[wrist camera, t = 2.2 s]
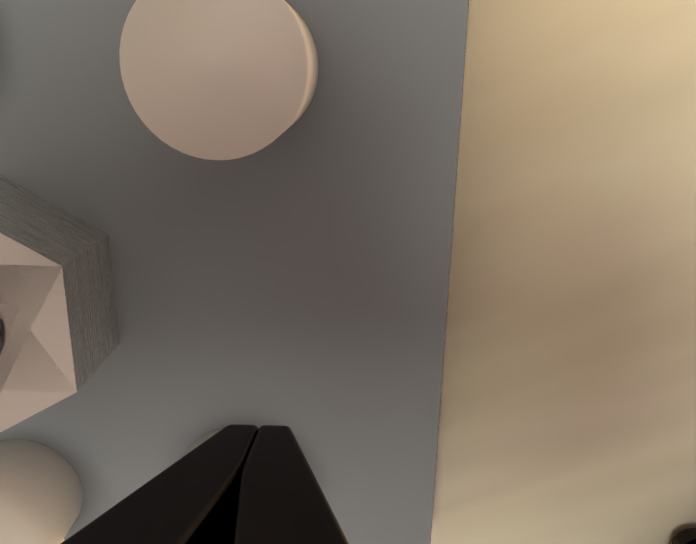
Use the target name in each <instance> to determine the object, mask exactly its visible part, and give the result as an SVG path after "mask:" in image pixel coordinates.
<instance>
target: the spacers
mask: <svg viewBox="0 0 696 544" xmlns="http://www.w3.org/2000/svg"><path fill="white" fill-rule="evenodd" d="M119 56H120V70H121V77H122V80H123V84H124V88H125V91H126V93H127V96H128V98H129V101H130V103H131V104H132V106H133V108H134V110H135V112H136V113H137V115H138V116H139V117H140V119H141V120H142V122H143V123H144V124H145V125H146V126H147V127H148V129H149V130H150V131H151V132H152V133H153V134H155V135H156V136H157V137H158V138H159V139H160V140H162V141H163V142H165V143H166V144H167V145H169V146H170V147H172V148H174V149H176V150H178V151H180V152H182V153H185V154H187V155H190V156H193V157H197V158H202V159H207V160H231V159H236V158H241V157H244V156H247V155H251V154H253V153H255V152H257V151H259V150H261V149H263V148H264V147H266V146H267V145H269V144H270V143H272V142H273V141H274V140H275V139H276V138H278V137H279V136H280V135H281V134H282V133H283V132H285V131H286V130H287V129H288V128H289V127H290V126H292V125H293V124H294V123H295V122H296V121H297V120H298V119H299V118H300V117H301V116H302V115H303V113H304V112H305V111H306V109H307V108H308V106H309V104H310V102H311V100H312V98H313V96H314V93H315V90H316V86H317V81H318V72H319V63H318V54H317V48H316V45H315V42H314V39H313V36H312V34H311V32H310V30H309V28H308V26H307V25H306V23H305V22H304V20H303V19H302V18H301V16H300V15H299V14H298V13H297V12H296V11H295V10H294V9H293V8H292V7H291V6H290V5H289V4H288V3H287V2H286V1H285V0H136V1H135V3H134V4H133V6H132V8H131V10H130V12H129V13H128V16H127V19H126V21H125V24H124V27H123V31H122V35H121V41H120V50H119ZM222 429H223V428H221V429H217V430H213V431H211V432H208V433H206V434H204V435H202V436H201V437H199V438H198V439H197V440H195V441H194V442H193V443H192V444H191V445H190V446H189V447H188V449H187V450H186V451H185V453H184V455H183V456H185V455H186V454H188V453H189V452H190V451H192V450H193V449H195V448H196V447H198V446H199V445H200V444H202V443H203V442H205V441H206V440H207V439H209V438H210V437H212V436H213V435H214V434H216V433H217V432H219V431H220V430H222ZM82 503H83V490H82V485H81V483H80V480H79V477H78V475H77V474H76V472H75V470H74V469H73V467H72V466H71V465H70V464H69V463H68V462H67V460H65V459H64V458H63V457H62V456H61V455H60V454H58V453H57V452H55V451H54V450H52V449H50V448H49V447H47V446H44V445H42V444H39V443H36V442H33V441H28V440H21V439H8V440H2V441H0V544H61V543H62V541H63V539H64V538H65V536H66V535H67V533H68V531H69V530H70V528H71V527H72V525H73V523H74V522H75V520H76V519H77V517H78V515H79V513H80V511H81V508H82Z"/></svg>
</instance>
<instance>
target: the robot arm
mask: <svg viewBox="0 0 696 544" xmlns="http://www.w3.org/2000/svg"><path fill="white" fill-rule="evenodd" d="M61 544H349V542H348V540H347V538H346V536H345V534H344V532H343V530H342V528H341V527H340V525H339V523H338V521H337V519H336V517H335V515H334V513H333V511H332V509H331V507H330V505H329V503H328V501H327V499H326V497H325V495H324V493H323V491H322V489H321V487H320V485H319V483H318V481H317V479H316V477H315V475H314V473H313V471H312V469H311V467H310V465H309V463H308V461H307V460H306V458H305V456H304V454H303V452H302V450H301V448H300V446H299V444H298V442H297V440H296V438H295V436H294V434H293V432H292V430H291V428H290V427H288V426H283V425H262V426H261V427H260V428H259V429H258V427H257V426H256V425H246V424H230V425H228V426H226V427H224V428H223V429H222V430H220V431H219V432H217V433H216V434H214V435H213V436H212V437H210V438H209V439H207V440H206V441H205V442H203V443H202V444H200V445H199V446H198V447H196V448H195V449H193V450H192V451H190V452H189V453H188V454H186V455H185V456H183V457H182V458H181V459H179V460H178V461H176V462H175V463H174V464H172V465H171V466H169V467H168V468H166V469H165V470H164V471H162V472H161V473H159V474H158V475H157V476H155V477H154V478H152V479H151V480H150V481H148V482H147V483H145V484H144V485H142V486H141V487H140V488H138V489H137V490H135V491H134V492H133V493H131V494H130V495H128V496H127V497H126V498H124V499H123V500H121V501H120V502H118V503H117V504H116V505H114V506H113V507H111V508H110V509H109V510H107V511H106V512H104V513H103V514H102V515H100V516H99V517H97V518H96V519H94V520H93V521H92V522H90V523H89V524H87V525H86V526H85V527H83V528H82V529H80V530H79V531H78V532H76V533H75V534H73V535H72V536H70V537H69V538H68V539H66V540H65V541H63V542H62V543H61ZM672 544H696V528H692V529H686V530H684V531H681V532H679V533H678V534H677V535H676V536H675V537H674V540H673V542H672Z"/></svg>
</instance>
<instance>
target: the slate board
mask: <svg viewBox="0 0 696 544" xmlns="http://www.w3.org/2000/svg"><path fill="white" fill-rule="evenodd" d="M135 1H136V0H0V175H2V176H4V177H5V178H7V179H9V180H11V181H13V182H14V183H16V184H18V185H20V186H22V187H23V188H25V189H27V190H29V191H31V192H32V193H34V194H36V195H38V196H40V197H41V198H43V199H45V200H47V201H49V202H50V203H52V204H54V205H56V206H58V207H59V208H61V209H63V210H65V211H66V212H68V213H70V214H72V215H74V216H75V217H77V218H79V219H81V220H83V221H84V222H86V223H88V224H90V225H92V226H93V227H95V228H97V229H99V230H101V231H102V232H104V233H106V234H108V235H109V243H110V254H111V264H112V275H113V285H114V296H115V306H116V317H117V327H118V338H119V344H118V346H117V347H116V348H115V349H114V350H113V351H112V352H111V354H110V355H109V356H108V357H107V358H106V359H105V361H104V362H103V363H102V364H101V365H100V366H99V367H98V369H97V370H96V371H95V372H94V373H93V374H92V375H91V377H90V378H89V379H88V380H87V381H86V382H85V384H84V385H83V386H82V387H81V388H80V389H79V390H78V392H76V393H74V394H72V395H71V396H69V397H67V398H65V399H63V400H61V401H59V402H57V403H55V404H54V405H52V406H50V407H48V408H46V409H44V410H42V411H40V412H38V413H36V414H35V415H33V416H31V417H29V418H27V419H25V420H23V421H21V422H19V423H17V424H16V425H14V426H12V427H10V428H8V429H6V430H4V431H2V432H0V441H2V440H8V439H21V440H28V441H33V442H36V443H39V444H42V445H44V446H47V447H49V448H50V449H52V450H54V451H55V452H57V453H58V454H60V455H61V456H62V457H63V458H64V459H65V460H67V462H68V463H69V464H70V465H71V466H72V467H73V469H74V470H75V472H76V474H77V475H78V477H79V480H80V483H81V485H82V490H83V503H82V508H81V511H80V513H79V515H78V517H77V519H76V520H75V522H74V523H73V525H72V527H71V528H70V530H69V531H68V533H67V535H66V536H65V538H64V539H68V538H69V537H70V536H72V535H73V534H75V533H76V532H78V531H79V530H80V529H82V528H83V527H85V526H86V525H87V524H89V523H90V522H92V521H93V520H94V519H96V518H97V517H99V516H100V515H102V514H103V513H104V512H106V511H107V510H109V509H110V508H111V507H113V506H114V505H116V504H117V503H118V502H120V501H121V500H123V499H124V498H126V497H127V496H128V495H130V494H131V493H133V492H134V491H135V490H137V489H138V488H140V487H141V486H142V485H144V484H145V483H147V482H148V481H150V480H151V479H152V478H154V477H155V476H157V475H158V474H159V473H161V472H162V471H164V470H165V469H166V468H168V467H169V466H171V465H172V464H174V463H175V462H176V461H178V460H179V459H181V458H182V457H183V455H184V453H185V451H186V450H187V449H188V447H189V446H190V445H191V444H192V443H193V442H194V441H195V440H197V439H198V438H199V437H201V436H202V435H204V434H206V433H208V432H211V431H213V430H217V429H221V428H224V427H226V426H228V425H230V424H246V425H256V426H257V427H258V429H259V428H260V427H261V426H262V425H283V426H288V427H290V428H291V430H292V432H293V434H294V436H295V438H296V440H297V442H298V444H299V446H300V448H301V450H302V452H303V454H304V456H305V458H306V460H307V461H308V463H309V465H310V467H311V469H312V471H313V473H314V475H315V477H316V479H317V481H318V483H319V485H320V487H321V489H322V491H323V493H324V495H325V497H326V499H327V501H328V503H329V505H330V507H331V509H332V511H333V513H334V515H335V517H336V519H337V521H338V523H339V525H340V527H341V528H342V530H343V532H344V534H345V536H346V538H347V540H348V542H349V544H430V542H431V527H432V513H433V499H434V485H435V471H436V457H437V443H438V429H439V415H440V401H441V387H442V373H443V359H444V345H445V331H446V317H447V303H448V288H449V274H450V260H451V246H452V232H453V218H454V204H455V190H456V176H457V162H458V148H459V134H460V120H461V106H462V92H463V78H464V64H465V50H466V35H467V21H468V7H469V0H285V1H286V2H287V3H288V4H289V5H290V6H291V7H292V8H293V9H294V10H295V11H296V12H297V13H298V14H299V15H300V16H301V18H302V19H303V20H304V22H305V23H306V25H307V26H308V28H309V30H310V32H311V34H312V36H313V39H314V42H315V45H316V48H317V54H318V63H319V72H318V81H317V86H316V90H315V93H314V96H313V98H312V100H311V102H310V104H309V106H308V108H307V109H306V111H305V112H304V113H303V115H302V116H301V117H300V118H299V119H298V120H297V121H296V122H295V123H294V124H293V125H292V126H290V127H289V128H288V129H287V130H286V131H285V132H283V133H282V134H281V135H280V136H279V137H278V138H276V139H275V140H274V141H273V142H272V143H270V144H269V145H267V146H266V147H264V148H263V149H261V150H259V151H257V152H255V153H253V154H251V155H247V156H244V157H241V158H236V159H231V160H207V159H202V158H197V157H193V156H190V155H187V154H185V153H182V152H180V151H178V150H176V149H174V148H172V147H170V146H169V145H167V144H166V143H165V142H163V141H162V140H160V139H159V138H158V137H157V136H156V135H155V134H153V133H152V132H151V131H150V130H149V129H148V127H147V126H146V125H145V124H144V123H143V122H142V120H141V119H140V117H139V116H138V115H137V113H136V112H135V110H134V108H133V106H132V104H131V103H130V101H129V98H128V96H127V93H126V91H125V88H124V84H123V80H122V77H121V70H120V56H119V50H120V41H121V35H122V31H123V27H124V24H125V21H126V19H127V16H128V13H129V12H130V10H131V8H132V6H133V4H134V3H135Z"/></svg>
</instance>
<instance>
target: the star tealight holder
mask: <svg viewBox="0 0 696 544" xmlns="http://www.w3.org/2000/svg"><path fill="white" fill-rule="evenodd" d="M118 344H119V338H118V327H117V317H116V306H115V296H114V285H113V275H112V264H111V254H110V243H109V235H108V234H106V233H104V232H102V231H101V230H99V229H97V228H95V227H93V226H92V225H90V224H88V223H86V222H84V221H83V220H81V219H79V218H77V217H75V216H74V215H72V214H70V213H68V212H66V211H65V210H63V209H61V208H59V207H58V206H56V205H54V204H52V203H50V202H49V201H47V200H45V199H43V198H41V197H40V196H38V195H36V194H34V193H32V192H31V191H29V190H27V189H25V188H23V187H22V186H20V185H18V184H16V183H14V182H13V181H11V180H9V179H7V178H5V177H4V176H2V175H0V432H2V431H4V430H6V429H8V428H10V427H12V426H14V425H16V424H17V423H19V422H21V421H23V420H25V419H27V418H29V417H31V416H33V415H35V414H36V413H38V412H40V411H42V410H44V409H46V408H48V407H50V406H52V405H54V404H55V403H57V402H59V401H61V400H63V399H65V398H67V397H69V396H71V395H72V394H74V393H76V392H78V390H79V389H80V388H81V387H82V386H83V385H84V384H85V382H86V381H87V380H88V379H89V378H90V377H91V375H92V374H93V373H94V372H95V371H96V370H97V369H98V367H99V366H100V365H101V364H102V363H103V362H104V361H105V359H106V358H107V357H108V356H109V355H110V354H111V352H112V351H113V350H114V349H115V348H116V347H117V346H118Z"/></svg>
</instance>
